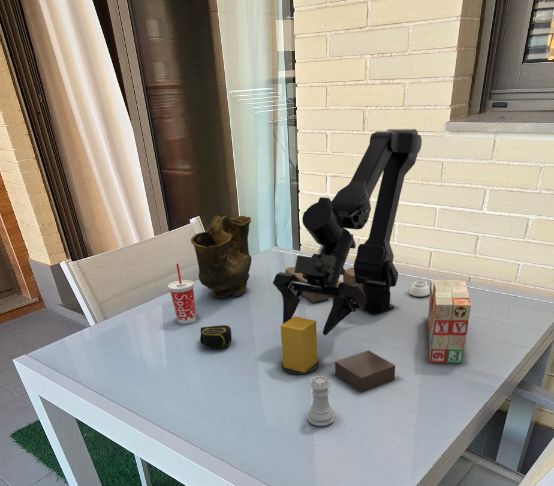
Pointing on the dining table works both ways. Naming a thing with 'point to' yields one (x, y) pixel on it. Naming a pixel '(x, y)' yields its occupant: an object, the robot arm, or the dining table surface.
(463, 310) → the stack of blocks
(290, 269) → the wooden block set
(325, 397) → the rook chess piece
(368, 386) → the walnut block
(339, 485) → the dining table surface
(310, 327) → the ochre block
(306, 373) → the rubber mat
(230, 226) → the pottery vessel
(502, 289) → the dining table surface
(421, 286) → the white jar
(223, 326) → the tape measure
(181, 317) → the beverage cup
